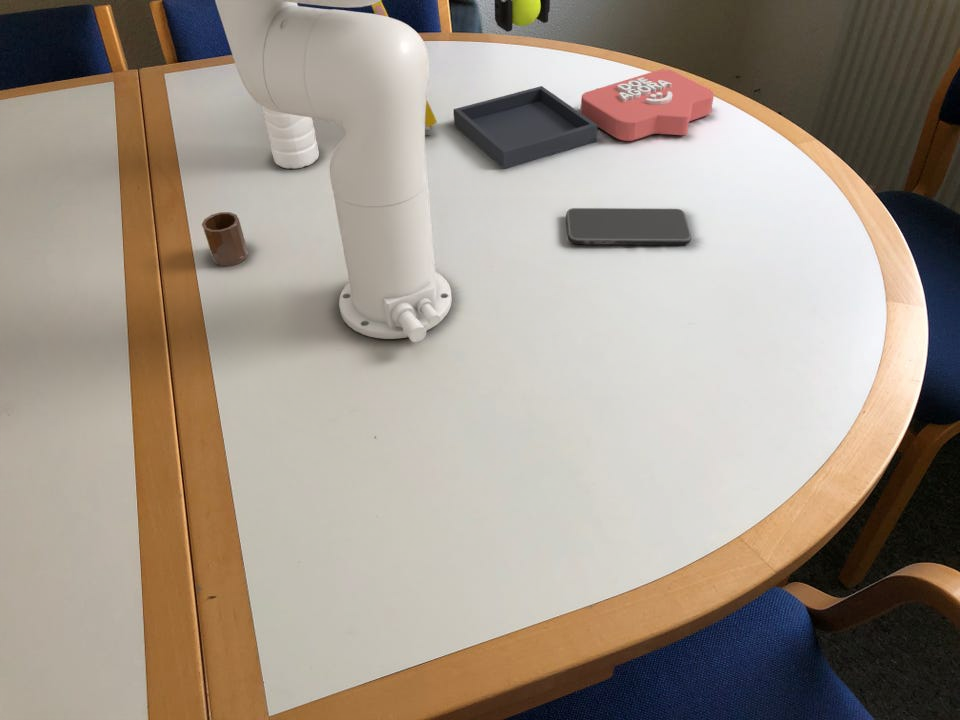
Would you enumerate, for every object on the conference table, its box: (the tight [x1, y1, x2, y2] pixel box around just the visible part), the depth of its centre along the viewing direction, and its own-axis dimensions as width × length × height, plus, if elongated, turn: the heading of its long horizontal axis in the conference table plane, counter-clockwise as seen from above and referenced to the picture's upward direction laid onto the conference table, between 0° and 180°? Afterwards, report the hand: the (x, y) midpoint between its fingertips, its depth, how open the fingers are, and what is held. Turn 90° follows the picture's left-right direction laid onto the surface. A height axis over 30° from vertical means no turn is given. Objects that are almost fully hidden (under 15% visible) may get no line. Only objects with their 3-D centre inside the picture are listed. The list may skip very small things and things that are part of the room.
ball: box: [511, 0, 541, 27], centre depth 106 cm, size 5×5×5 cm
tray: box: [453, 85, 599, 170], centre depth 118 cm, size 16×16×3 cm
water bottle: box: [261, 106, 320, 170], centre depth 107 cm, size 9×6×25 cm
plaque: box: [580, 69, 715, 142], centre depth 120 cm, size 18×4×15 cm
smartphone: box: [565, 207, 692, 246], centre depth 99 cm, size 7×1×15 cm
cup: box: [201, 211, 249, 267], centre depth 96 cm, size 4×4×5 cm
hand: (522, 22), depth 108 cm, fingers closed on ball, 4 cm apart
